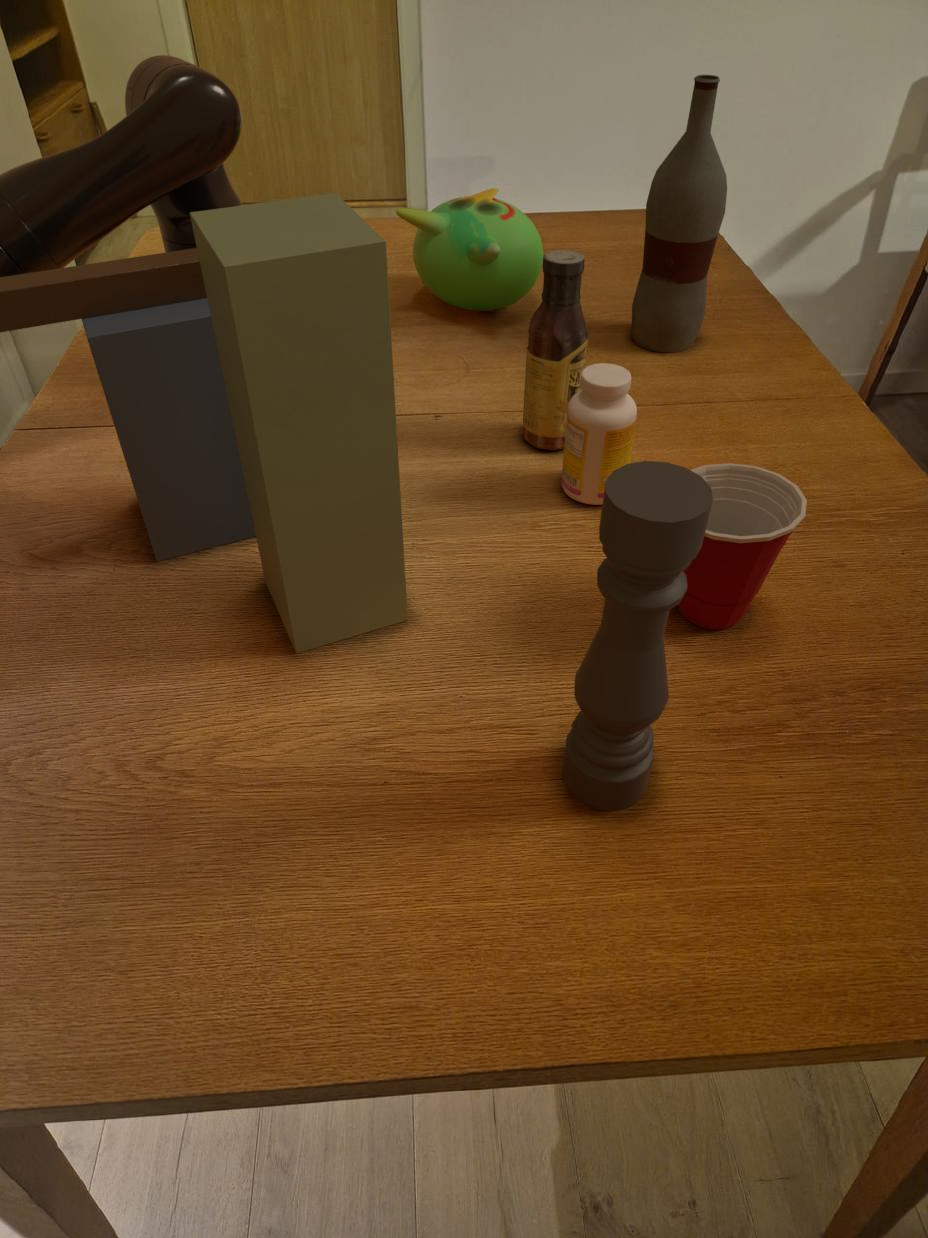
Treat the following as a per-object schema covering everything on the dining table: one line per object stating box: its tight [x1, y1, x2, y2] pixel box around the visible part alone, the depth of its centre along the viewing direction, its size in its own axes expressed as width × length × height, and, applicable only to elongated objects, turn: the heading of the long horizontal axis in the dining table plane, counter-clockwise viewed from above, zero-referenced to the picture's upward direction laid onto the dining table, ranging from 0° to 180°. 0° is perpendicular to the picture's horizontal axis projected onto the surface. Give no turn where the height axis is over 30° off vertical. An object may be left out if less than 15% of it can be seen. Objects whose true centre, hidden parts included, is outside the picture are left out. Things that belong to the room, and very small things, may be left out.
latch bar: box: [0, 248, 207, 333], centre depth 69 cm, size 24×3×3 cm, turn 114°
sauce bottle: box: [522, 248, 589, 451], centre depth 90 cm, size 7×6×20 cm
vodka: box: [631, 74, 728, 354], centre depth 104 cm, size 9×9×30 cm
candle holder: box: [561, 460, 713, 812], centre depth 54 cm, size 6×6×25 cm
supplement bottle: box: [561, 362, 638, 506], centre depth 85 cm, size 7×7×13 cm
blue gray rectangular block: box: [81, 298, 256, 562], centre depth 78 cm, size 10×10×22 cm
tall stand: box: [190, 192, 409, 654], centre depth 66 cm, size 10×10×32 cm
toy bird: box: [395, 187, 544, 312], centre depth 117 cm, size 18×17×15 cm
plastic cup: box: [677, 462, 808, 630], centre depth 72 cm, size 11×11×12 cm
